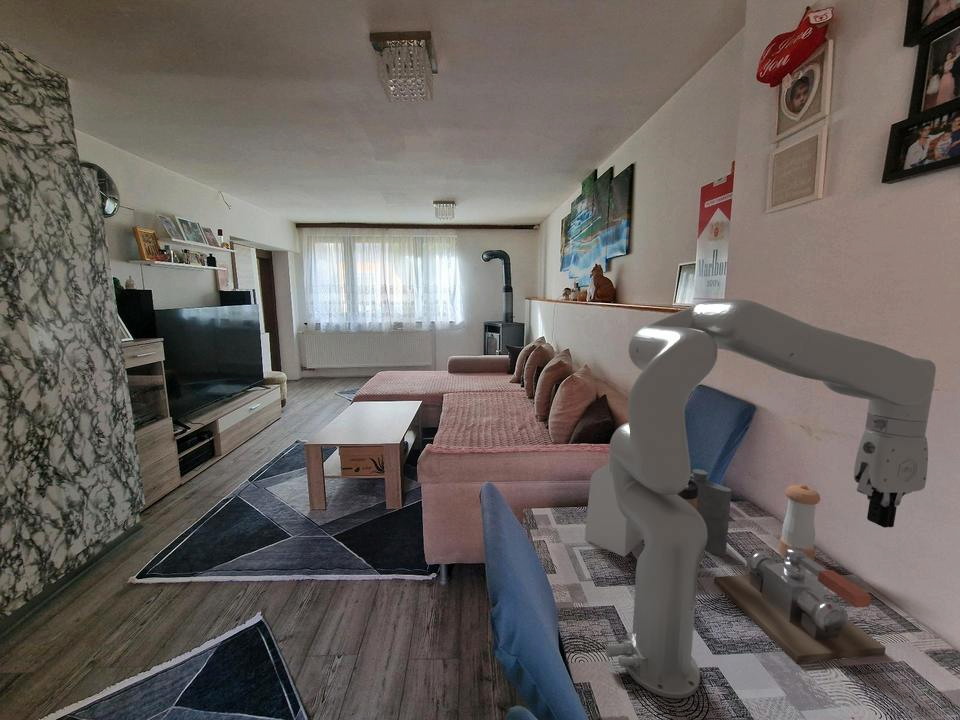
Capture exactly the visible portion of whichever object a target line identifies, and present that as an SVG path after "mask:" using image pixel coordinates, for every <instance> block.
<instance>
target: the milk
mask: <svg viewBox="0 0 960 720" xmlns="http://www.w3.org/2000/svg"><path fill="white" fill-rule="evenodd" d="M587 502H588V504H587V512H586V521H585V522H586V523H585V531H584V532H585V533H584V540H585V541H587V542H589V543H591V544H594V545H596V546H597V547H601V548H603V549H606V550H608V551H610V552H612V553H614V554H617V555H618V556H619V555H620V557H623V558H625V557H626V556H627V555H629V553H631V552H632V551H633V550H634V549H635V548H636V547H637V546H638V545H639V544H640V543H641V542H643V541H644V539H643V537H642V536H641V535H640V533H639V532H638V531H637V530H636V529H635V528H634V527H633V526H632V525H631V524H630V522H629V521H628V520H627V519H626V518H625V517H624V516H623V514H622V513H621V511H620V509H619V507H618V504H617V501H616V496H615V490H614V484H613V478H612V471H611V465H610V460H609V461H608V462H607V463H605V464H603V465H602V466H601V467H599V468H598V469H596V470H595V471H594V472H593V473H592V475H591V476H590V481H589V493H588V501H587Z"/></svg>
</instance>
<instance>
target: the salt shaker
mask: <svg viewBox="0 0 960 720" xmlns="http://www.w3.org/2000/svg"><path fill="white" fill-rule="evenodd" d="M785 494H786V497H787V498H788V500H787V509H786V510H787V512H786V515H785V518H784V520H783V524H782V532H781V533H782V534H781V536H780V538H779V545H778V551H779V553H780V555H782V556H783V557H784V558H786V549H787V547H796V548H799V549H802V550H803V551H805V552H806V556H807V557H809V558H810V559H812V560H813V561H814V562H815V555H816V554H815V553H816V546H815V539H816V526H815V516H816V515H815V514H816V512H815V511H816V506H817V505H818V504H819V503H820V502H821V496H820V494H819V492H818V491H817V490H816V489H813V488H812V487H808V485H807V484H804V483H801V484H792V485H789V486H788V487H786V489H785Z"/></svg>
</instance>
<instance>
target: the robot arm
mask: <svg viewBox="0 0 960 720" xmlns="http://www.w3.org/2000/svg"><path fill="white" fill-rule="evenodd" d="M719 350H725V351H728V352H732V353H735V354H738V355H741V356H743V357H745V358H747V359H750V360H754V361H756V362H759V363H762V364H764V365H766V366H768V367H770V368H773V369H777V370H778V371H780V372H784V373H787V374H790V375H794V376H797V377H802V378H806V379H810V380H815V381H821V382H822V383H823V384H824V386H826V388H827V389H829V390H831V391H832V392H835V393H837V394H840V395H844V396H848V397H853V398H857V399H864V400H868V406H867V412H866V413H867V415H866V420H865V421H866V422H865V426H864V427H865V428H864V432H863V434H862V437H861V439H860V443H859V445H858V449H857V453H856V458H855V462H854V466H853V467H854V468H853V479H854V481H855V483H858V484H857V486H856V487H857V488H856V491H857V493H860V494H862V495H865V496H866V499H867V500H868V501H869V503H868V509H867V517H866V518H867V521H869V522H871V523H874V524H875V525H878V526H880V527H882V528H893V527H894V526H895V520H896V514H897V513H896V512H897V509H898V508H897V507H898V506H900V504H901V501H902V499H903V496H906V495H907V494H911V493H914V492H915V493H916V492H920V491H922V490H924V489H925V487H926V483H927V482H926V481H927V476H928V475H927V474H928V465H929V464H928V463H929V447H928V438H927V436H926V433H927V427H928V421H929V415H930V408H931V404H932V403H931V402H932V396H933V391H934V386H935V378H936V372H937V370H936V369H937V368H936V367H937V366H936V364H935V363H934V362H933V361H932V360H930V359H926V358H922V357H913V356H910V355H909V354H906V353H904V352H901V351H898V350H896V349H894V348H891V347H888V346H885V345H881V344H878V343H875V342H872V341H868V340H864V339H859V338H857V337H853V336H848V335H846V334H842V333H839V332H837V331H832V330H828V329H825V328H821V327H817V326H814V325H811V324H809V323H806V322H804V321H801V320H800V319H797V318H795V317H792V316H790V315H787V314H785V313H782V312H780V311H778V310H775V309H774V308H771V307H768V306H766V305H764V304H761V303H760V302H756V301H752V300H747V299H721V300H719V299H718V300H717V299H716V300H715V299H714V300H707V301H705V300H704V301H703V302H699V303H696V304H694V305H692V306H689V307H686V308H684V309H682V310H679V311H677V312H674V313H673V314H670V315H668V316H665V317H663V318H660V319H658V320H656V321H653V322H652V323H649V324H647V325H645V326H642V327H641V328H640V329H639V330H637V331H636V332H635V334H633V336H632V337H631V339H630V342H629V344H628V355H629V358H630V360H631V363H632V364H633V365H634V366H635V367H636V368H638V369H639V370H641V373H640V374H639V376H638V377H637V379H636V380H635V381H634V383H633V385H632V387H631V389H630V392H629V394H628V400H627V419H628V422H626V423H623V424H622V425H620V426H618V428H617V429H616V430H615V431H614V432H613V434H612V436H611V438H610V442H609V448H608V455H609V461H610V465H611V471H612V478H613V484H614V490H615V496H616V501H617V504H618V507H619V509H620V511H621V513H622V514H623V516H624V517H625V518H626V519H627V520H628V521H629V522H630V524H631V525H632V526H633V527H634V528H635V529H636V530H637V531H638V532H639V533H640V535H641V536H642V537H643V541H644V548H643V550H642V552H641V553H640V555H639V556H638V558H637V562H636V566H635V585H634V587H635V588H634V601H633V603H634V604H633V620H632V632H628V633H626V639H625V640H622V641H621V643H616V642H615V643H614V642H613V643H606V644H605V646H604V648H605V654H606V656H607V658H612V657H613V658H617V657H618V658H617V659H618V665H619V666H620V667H621V668H625V670H626V671H627V673H628V674H629V676H630V677H631V678H632V679H633V680H634V681H635V682H636V683H637V684H638V685H640V686H641V687H642V688H644V689H645V690H647V691H648V692H651V693H653V694H654V695H657V696H660V697H663V698H667V699H676V700H679V699H685V698H689V697H691V696H692V695H693V694H695V693H696V692H697V690H699V687H700V684H701V683H700V682H701V672H700V669H699V665H698V664H697V662H696V660H695V658H693V656H692V653H693V652H692V649H693V640H694V638H693V636H694V625H695V611H696V602H697V600H696V599H697V597H696V596H697V587H698V586H697V585H698V578H699V577H698V576H699V571H700V566H701V561H702V557H703V555H704V551H705V546H706V543H707V538H708V532H707V527H706V524H705V522H704V520H703V518H702V516H701V515H700V514H699V512H698V511H697V510H696V509H695V508H694V507H693V506H692V505H691V504H689V503H688V502H687V501H686V500H684V499H683V498H682V497H680V496H679V495H677V494H678V493H680V492H681V491H683V490H684V489H685V487H686V486H687V485H688V482H689V479H690V473H691V459H690V452H689V443H688V435H687V428H686V427H687V426H686V415H685V412H686V406H687V401H688V399H689V397H690V396H691V394H692V392H693V391H694V389H696V388H697V386H698V385H699V384H700V383H701V382H702V381H703V380H704V379H705V378H706V377H707V376H708V375H709V374H710V373H711V371H712V370H713V369H714V367H715V365H716V362H717V359H718V351H719Z"/></svg>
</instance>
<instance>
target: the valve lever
mask: <svg viewBox="0 0 960 720" xmlns="http://www.w3.org/2000/svg"><path fill="white" fill-rule="evenodd" d="M785 558H787V559H788V560H790V562H792V563H794V564H797V565H801V566H803V567H804V568H806V570H807V572H810V573H811V574H813V576H816V578H817V579H818V581H819V582H820V583H822V584H823V585H824V586H825V588H827V589H829V590H830V591H831V592H833V593H834V594H836V595H837V596H838V597H840V599H843V600H844V601H845V602H847V603H848V604H849V605H851V606H852V607H854V608H867V607H870V605H871V599H872V596H871V594H869V593H868V592H866V591H865V590H864V589H861V588H860V587H859V586H857V584H856V585H855V583H853V582H851V581H850V580H848V579H847V578H845V576H842V575H841V574H839V573H837V572H836V571H834V570H833V569H829V570H828V569H827V568H825V567H823V566H822V565H820V564H819V563H817V562H816V561H815V560H814V561H813V560H812V559H810V558H809V557H807V556H806V552H805V551H803V550H802V549H799V548H796V547H787V549H786V557H785Z"/></svg>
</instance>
